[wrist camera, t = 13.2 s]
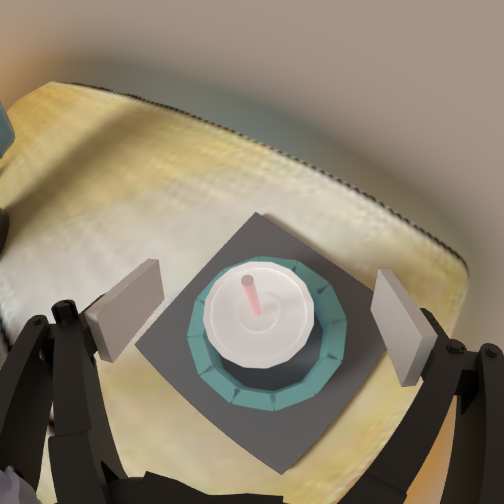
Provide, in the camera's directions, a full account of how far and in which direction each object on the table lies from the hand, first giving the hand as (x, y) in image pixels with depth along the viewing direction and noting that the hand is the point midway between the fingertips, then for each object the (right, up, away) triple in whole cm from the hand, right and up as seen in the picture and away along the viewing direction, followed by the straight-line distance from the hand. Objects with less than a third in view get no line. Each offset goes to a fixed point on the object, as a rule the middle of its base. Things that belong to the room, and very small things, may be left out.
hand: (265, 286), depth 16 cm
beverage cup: (0, -5, +7) cm, 9 cm away
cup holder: (+1, -6, +8) cm, 10 cm away
